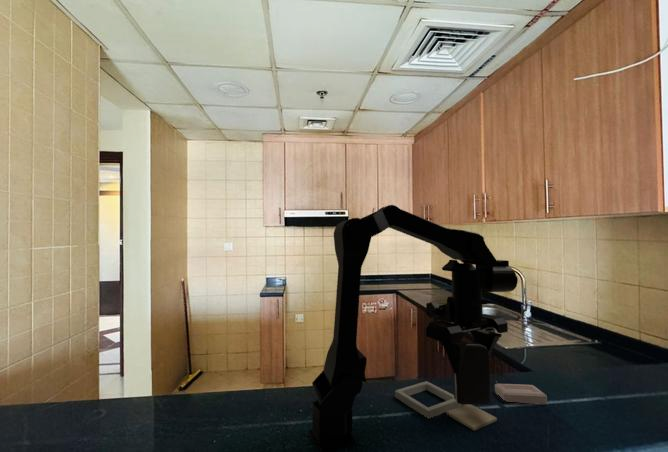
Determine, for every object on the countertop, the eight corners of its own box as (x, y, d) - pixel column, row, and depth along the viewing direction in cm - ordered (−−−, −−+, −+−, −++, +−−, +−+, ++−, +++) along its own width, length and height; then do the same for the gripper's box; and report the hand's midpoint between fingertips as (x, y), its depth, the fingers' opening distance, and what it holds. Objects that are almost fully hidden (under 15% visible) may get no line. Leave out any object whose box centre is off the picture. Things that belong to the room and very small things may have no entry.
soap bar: (494, 393, 71) (493, 382, 71) (533, 394, 70) (533, 383, 70) (505, 404, 66) (504, 393, 66) (548, 406, 65) (547, 394, 65)
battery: (482, 395, 62) (480, 340, 63) (492, 405, 58) (490, 345, 59) (449, 396, 62) (448, 340, 63) (457, 405, 58) (455, 346, 59)
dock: (428, 418, 59) (428, 411, 60) (395, 397, 68) (395, 390, 68) (461, 406, 64) (461, 399, 64) (426, 387, 73) (426, 381, 73)
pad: (474, 430, 55) (474, 428, 56) (446, 414, 61) (446, 411, 61) (497, 420, 59) (496, 417, 59) (468, 405, 64) (468, 403, 64)
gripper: (463, 286, 73) (464, 351, 72) (406, 290, 64) (407, 365, 63) (507, 292, 64) (510, 367, 62) (448, 298, 55) (450, 386, 53)
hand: (468, 370), depth 61 cm, fingers closed on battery, 7 cm apart
